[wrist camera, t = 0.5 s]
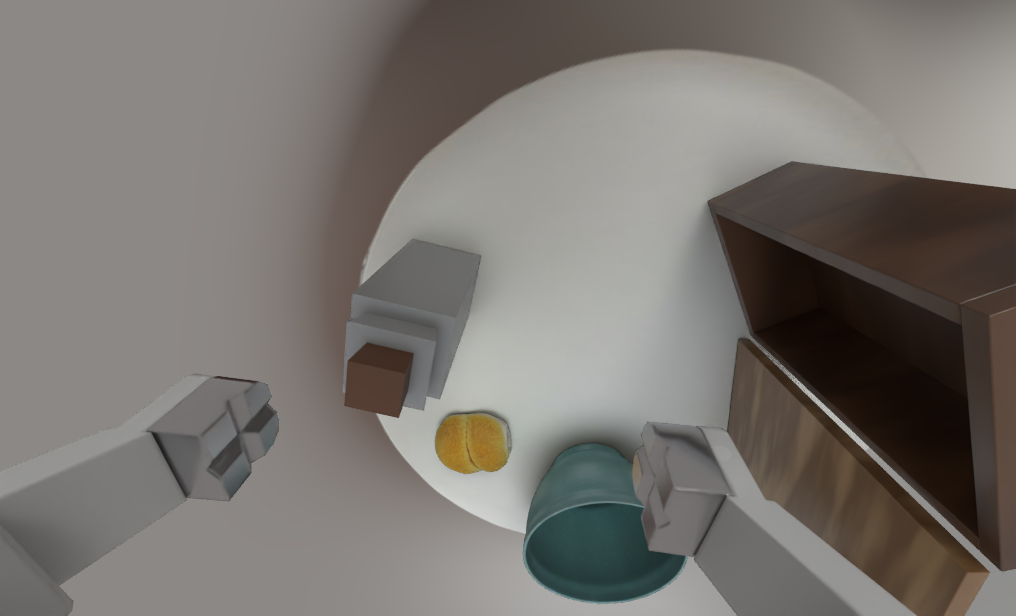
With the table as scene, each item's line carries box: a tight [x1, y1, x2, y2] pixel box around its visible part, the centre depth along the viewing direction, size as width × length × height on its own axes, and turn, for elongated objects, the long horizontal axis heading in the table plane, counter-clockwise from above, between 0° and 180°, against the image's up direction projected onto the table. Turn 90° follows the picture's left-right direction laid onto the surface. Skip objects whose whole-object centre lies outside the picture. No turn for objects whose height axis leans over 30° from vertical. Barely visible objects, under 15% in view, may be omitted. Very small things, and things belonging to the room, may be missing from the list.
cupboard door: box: [728, 339, 990, 616], centre depth 31 cm, size 6×15×23 cm, turn 8°
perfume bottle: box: [343, 239, 481, 418], centre depth 30 cm, size 7×7×18 cm
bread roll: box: [435, 413, 512, 474], centre depth 45 cm, size 8×9×4 cm
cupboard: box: [708, 162, 1016, 571], centre depth 25 cm, size 7×15×23 cm, turn 28°
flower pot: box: [523, 443, 688, 604], centre depth 43 cm, size 16×16×11 cm
